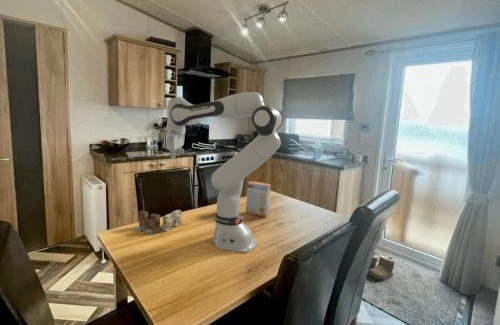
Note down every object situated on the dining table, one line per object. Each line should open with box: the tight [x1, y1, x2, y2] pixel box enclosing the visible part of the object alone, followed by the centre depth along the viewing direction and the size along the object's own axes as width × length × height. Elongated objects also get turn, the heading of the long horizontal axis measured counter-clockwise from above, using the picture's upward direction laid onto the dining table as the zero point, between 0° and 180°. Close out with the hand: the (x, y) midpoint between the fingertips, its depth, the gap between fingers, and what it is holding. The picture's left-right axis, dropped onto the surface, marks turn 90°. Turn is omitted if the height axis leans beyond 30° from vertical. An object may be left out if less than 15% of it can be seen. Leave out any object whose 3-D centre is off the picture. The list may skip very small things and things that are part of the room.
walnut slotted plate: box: [134, 210, 163, 235], centre depth 142 cm, size 12×8×9 cm, turn 66°
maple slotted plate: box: [162, 209, 182, 233], centre depth 146 cm, size 12×2×8 cm, turn 156°
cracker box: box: [245, 180, 272, 219], centre depth 171 cm, size 14×6×21 cm, turn 64°
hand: (175, 156), depth 140 cm, fingers open, 8 cm apart
